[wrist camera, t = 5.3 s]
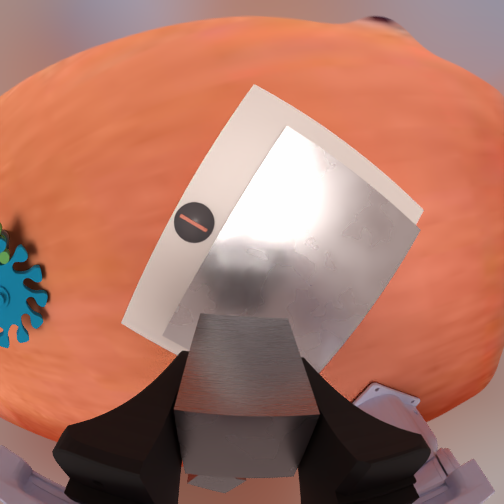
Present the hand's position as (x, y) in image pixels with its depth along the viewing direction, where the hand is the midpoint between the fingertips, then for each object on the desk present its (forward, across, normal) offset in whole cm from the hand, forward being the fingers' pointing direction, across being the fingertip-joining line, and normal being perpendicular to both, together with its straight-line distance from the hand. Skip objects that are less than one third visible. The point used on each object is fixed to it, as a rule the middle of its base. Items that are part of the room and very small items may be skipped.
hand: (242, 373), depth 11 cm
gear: (+9, +21, +1) cm, 22 cm away
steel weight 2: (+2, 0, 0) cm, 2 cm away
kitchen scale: (+8, -2, -3) cm, 9 cm away
